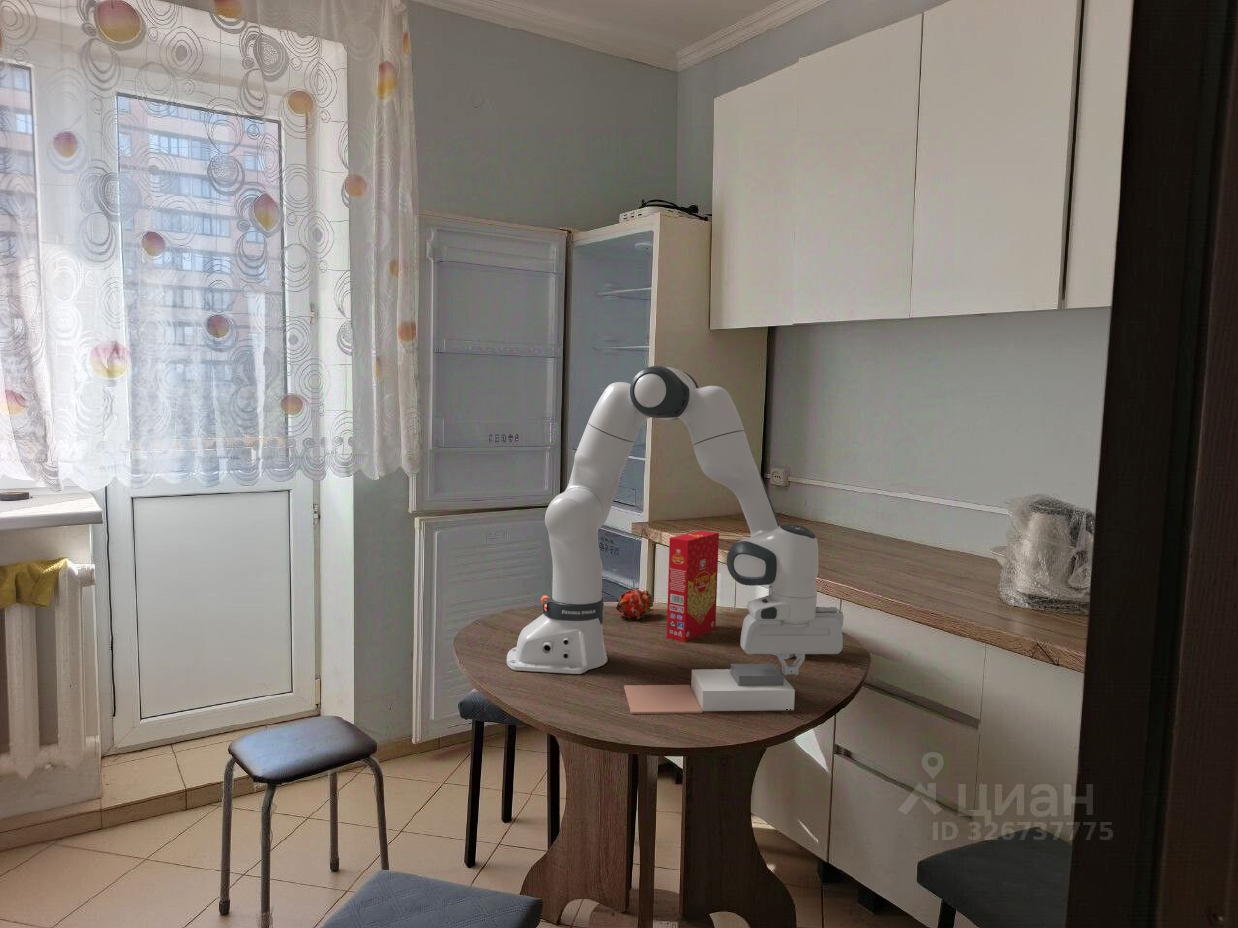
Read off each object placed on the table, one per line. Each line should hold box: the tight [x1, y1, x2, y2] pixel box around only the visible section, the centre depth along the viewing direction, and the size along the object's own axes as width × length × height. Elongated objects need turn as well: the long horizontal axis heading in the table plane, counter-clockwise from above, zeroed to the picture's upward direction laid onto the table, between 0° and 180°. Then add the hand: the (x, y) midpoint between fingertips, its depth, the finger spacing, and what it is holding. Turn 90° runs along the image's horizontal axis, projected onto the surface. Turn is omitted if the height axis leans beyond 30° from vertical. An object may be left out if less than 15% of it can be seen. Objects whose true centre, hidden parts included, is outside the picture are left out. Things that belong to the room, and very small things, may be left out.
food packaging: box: [666, 530, 720, 643], centre depth 209 cm, size 15×5×25 cm, turn 143°
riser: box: [690, 668, 796, 712], centre depth 167 cm, size 18×12×4 cm, turn 95°
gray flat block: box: [730, 663, 785, 686], centre depth 167 cm, size 9×7×2 cm
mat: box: [623, 684, 703, 715], centre depth 165 cm, size 14×14×1 cm
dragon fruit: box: [615, 587, 654, 620], centre depth 223 cm, size 8×8×12 cm
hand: (789, 674), depth 167 cm, fingers closed
